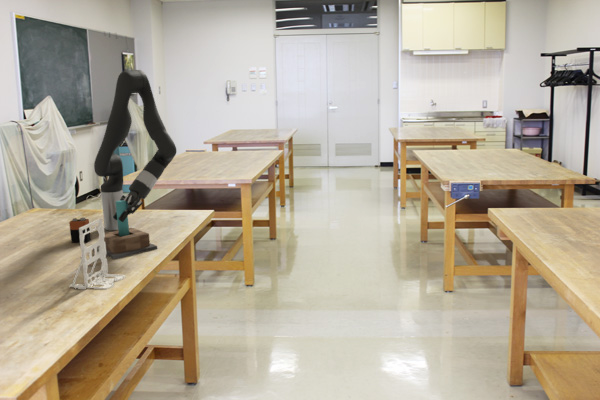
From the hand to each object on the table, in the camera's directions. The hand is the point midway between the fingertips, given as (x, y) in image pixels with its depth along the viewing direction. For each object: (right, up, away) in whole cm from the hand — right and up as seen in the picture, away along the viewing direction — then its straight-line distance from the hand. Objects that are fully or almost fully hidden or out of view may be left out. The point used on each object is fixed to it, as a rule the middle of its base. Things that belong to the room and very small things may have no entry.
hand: (117, 219), depth 226 cm
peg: (+2, -7, +3) cm, 7 cm away
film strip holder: (+4, -20, -33) cm, 39 cm away
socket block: (+2, -12, +4) cm, 13 cm away
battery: (-21, -10, +17) cm, 29 cm away
